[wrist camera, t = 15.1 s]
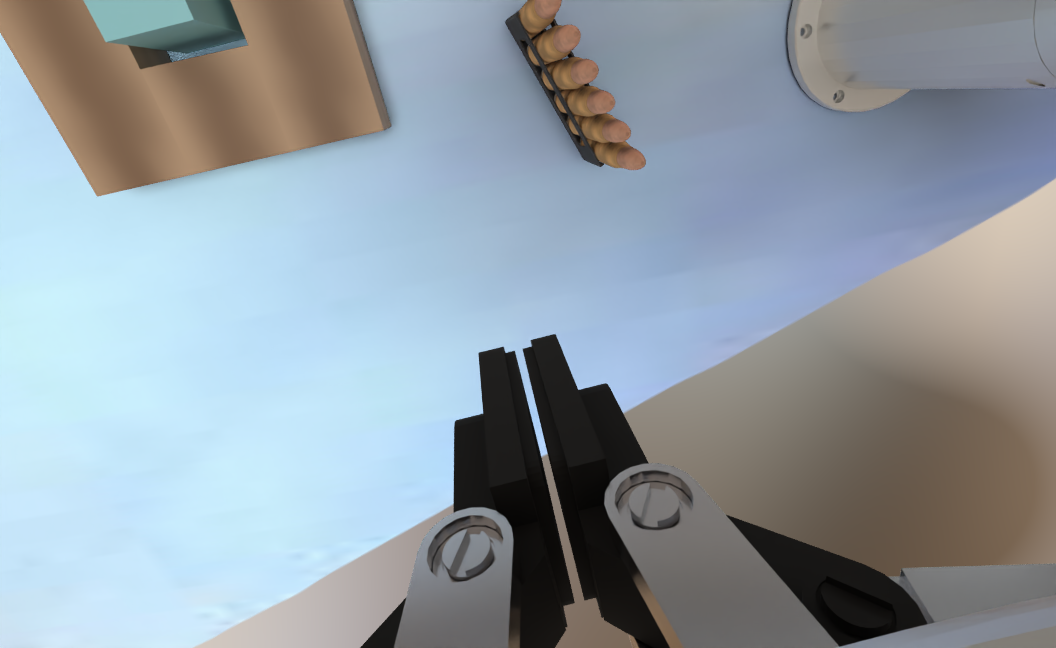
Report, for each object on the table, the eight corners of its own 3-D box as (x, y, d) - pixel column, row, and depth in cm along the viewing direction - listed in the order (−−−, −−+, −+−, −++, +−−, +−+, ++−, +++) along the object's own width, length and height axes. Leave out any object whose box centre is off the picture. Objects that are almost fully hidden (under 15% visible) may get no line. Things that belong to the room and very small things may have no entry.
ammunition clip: (605, 146, 37) (666, 169, 26) (584, 161, 37) (636, 189, 26) (527, 3, 32) (562, -40, 22) (504, 21, 33) (527, -13, 22)
